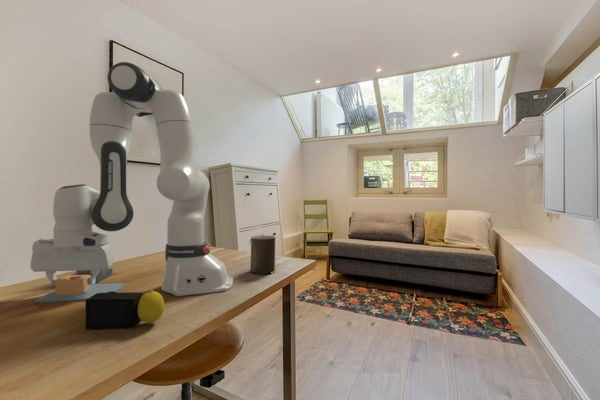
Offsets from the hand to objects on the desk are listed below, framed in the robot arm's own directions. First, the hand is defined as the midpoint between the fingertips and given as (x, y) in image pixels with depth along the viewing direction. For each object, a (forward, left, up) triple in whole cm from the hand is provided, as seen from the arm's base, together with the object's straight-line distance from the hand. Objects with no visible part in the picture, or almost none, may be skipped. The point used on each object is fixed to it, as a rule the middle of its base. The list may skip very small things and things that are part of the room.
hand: (73, 284), depth 82 cm
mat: (-3, 0, -3) cm, 4 cm away
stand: (+3, -14, -3) cm, 15 cm away
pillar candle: (-57, -17, -3) cm, 60 cm away
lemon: (-29, +23, -3) cm, 37 cm away
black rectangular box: (-21, +22, -3) cm, 30 cm away
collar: (0, 0, -2) cm, 2 cm away
